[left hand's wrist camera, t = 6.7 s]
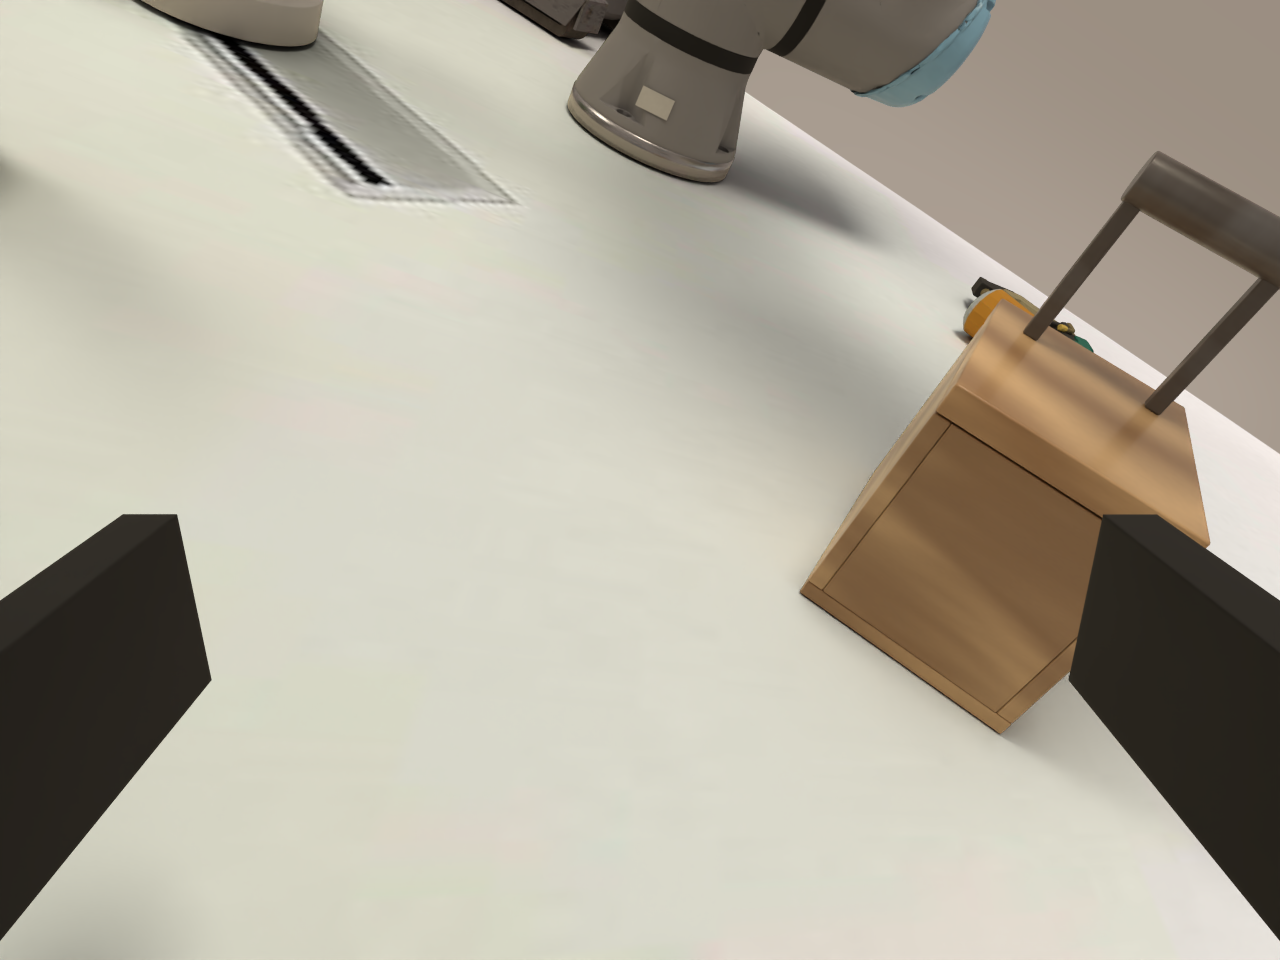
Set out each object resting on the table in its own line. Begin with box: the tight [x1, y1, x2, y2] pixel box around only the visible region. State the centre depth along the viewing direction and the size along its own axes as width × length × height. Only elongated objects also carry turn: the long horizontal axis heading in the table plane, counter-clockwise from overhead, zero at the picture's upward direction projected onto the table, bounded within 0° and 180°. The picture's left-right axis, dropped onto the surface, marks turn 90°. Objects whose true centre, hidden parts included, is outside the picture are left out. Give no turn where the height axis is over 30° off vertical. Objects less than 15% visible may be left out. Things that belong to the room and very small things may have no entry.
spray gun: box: [963, 277, 1094, 353], centre depth 72 cm, size 4×17×15 cm
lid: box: [936, 151, 1280, 548], centre depth 32 cm, size 14×9×10 cm
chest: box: [800, 325, 1102, 734], centre depth 37 cm, size 13×9×10 cm
